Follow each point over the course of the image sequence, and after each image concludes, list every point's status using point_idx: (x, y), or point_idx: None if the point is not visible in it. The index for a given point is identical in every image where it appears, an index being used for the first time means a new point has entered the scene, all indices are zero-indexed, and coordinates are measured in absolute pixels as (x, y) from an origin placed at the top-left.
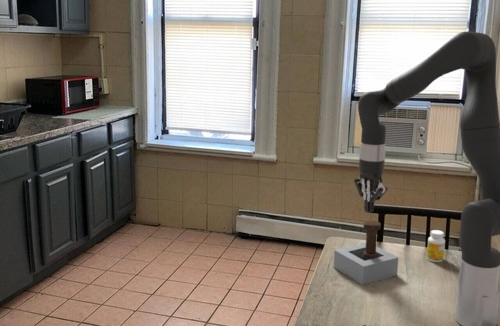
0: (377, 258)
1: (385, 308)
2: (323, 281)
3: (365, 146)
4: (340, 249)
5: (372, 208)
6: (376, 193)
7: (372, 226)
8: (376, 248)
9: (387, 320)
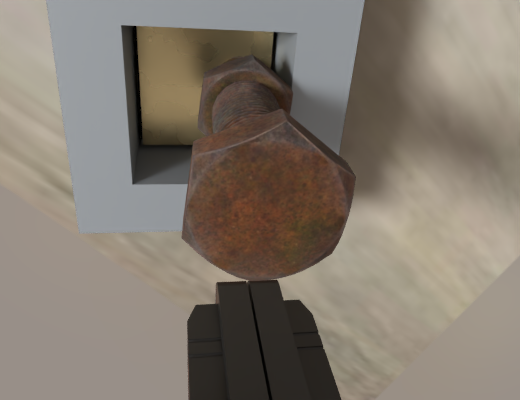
0: (301, 101)
1: (469, 220)
2: (195, 283)
3: None
4: (85, 201)
5: (306, 337)
6: None
7: (328, 255)
8: None
9: (510, 258)
